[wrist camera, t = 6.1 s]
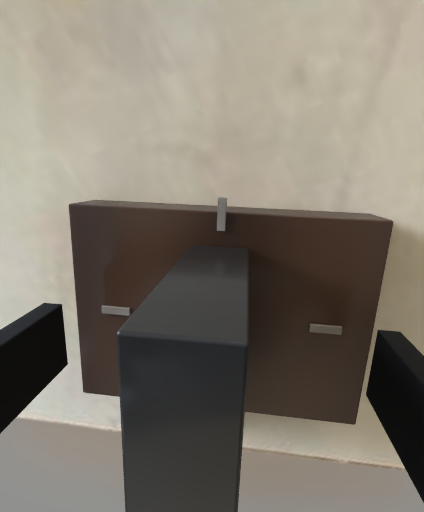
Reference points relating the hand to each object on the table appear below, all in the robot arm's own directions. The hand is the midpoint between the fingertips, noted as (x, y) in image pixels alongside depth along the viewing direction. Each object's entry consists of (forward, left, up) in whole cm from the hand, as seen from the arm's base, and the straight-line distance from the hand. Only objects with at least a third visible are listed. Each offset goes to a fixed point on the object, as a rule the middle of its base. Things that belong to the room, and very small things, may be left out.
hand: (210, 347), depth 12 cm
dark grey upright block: (0, 0, -3) cm, 3 cm away
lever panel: (0, 0, -5) cm, 5 cm away
